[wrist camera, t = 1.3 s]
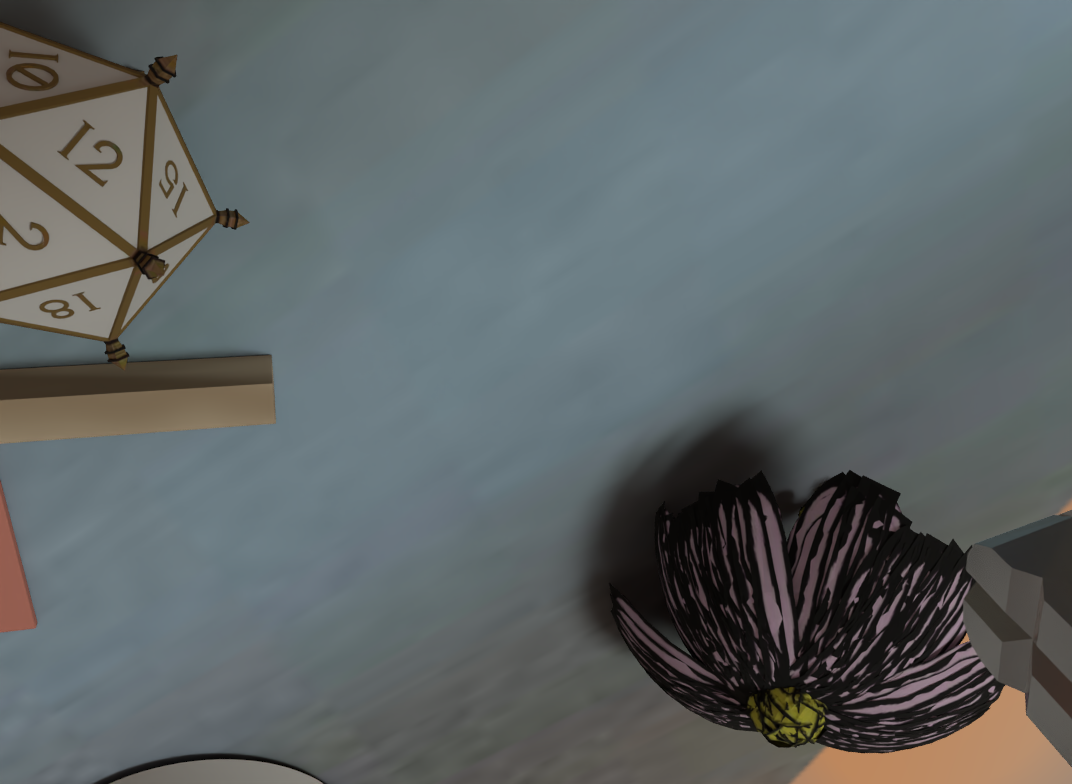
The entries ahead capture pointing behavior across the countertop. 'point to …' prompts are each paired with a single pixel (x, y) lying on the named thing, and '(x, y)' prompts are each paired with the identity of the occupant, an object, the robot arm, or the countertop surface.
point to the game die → (90, 190)
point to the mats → (12, 579)
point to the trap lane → (135, 398)
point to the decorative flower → (813, 619)
